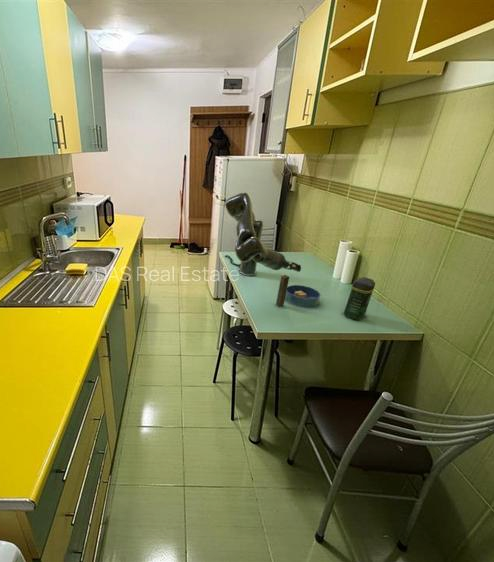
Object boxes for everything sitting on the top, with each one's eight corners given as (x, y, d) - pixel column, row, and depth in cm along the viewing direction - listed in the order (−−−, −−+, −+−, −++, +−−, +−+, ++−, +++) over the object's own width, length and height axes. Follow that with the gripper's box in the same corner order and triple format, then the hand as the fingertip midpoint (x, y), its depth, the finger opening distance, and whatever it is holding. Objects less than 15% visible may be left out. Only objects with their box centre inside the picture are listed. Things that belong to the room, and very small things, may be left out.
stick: (275, 305, 150) (281, 275, 143) (280, 304, 151) (285, 274, 144) (279, 307, 148) (284, 277, 141) (283, 306, 148) (289, 276, 142)
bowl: (277, 295, 160) (279, 287, 158) (302, 291, 164) (304, 283, 162) (298, 310, 146) (300, 300, 144) (325, 305, 150) (327, 296, 148)
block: (293, 298, 156) (294, 291, 154) (299, 297, 157) (301, 290, 155) (298, 302, 152) (300, 295, 151) (305, 301, 153) (306, 294, 152)
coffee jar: (359, 322, 136) (371, 285, 129) (341, 315, 141) (351, 279, 134) (367, 315, 142) (378, 279, 135) (348, 309, 147) (359, 274, 140)
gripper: (290, 253, 121) (308, 262, 131) (260, 248, 132) (279, 257, 142) (284, 271, 122) (303, 279, 132) (255, 264, 133) (274, 272, 143)
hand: (290, 267), depth 137 cm, fingers open, 8 cm apart
